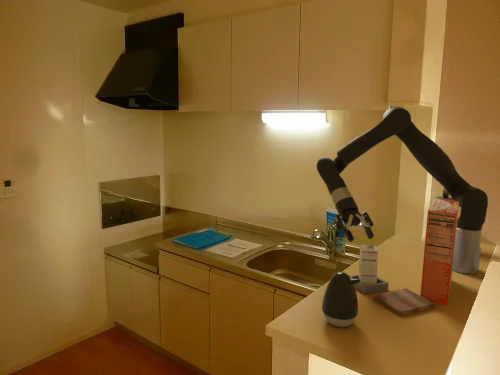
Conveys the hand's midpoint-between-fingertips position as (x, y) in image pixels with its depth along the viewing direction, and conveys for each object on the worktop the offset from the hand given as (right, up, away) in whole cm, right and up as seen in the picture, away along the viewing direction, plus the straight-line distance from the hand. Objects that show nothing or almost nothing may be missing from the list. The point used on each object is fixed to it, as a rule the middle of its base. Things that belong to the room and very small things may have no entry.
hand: (362, 239), depth 136 cm
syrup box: (+1, -17, -1) cm, 17 cm away
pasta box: (+25, -17, -3) cm, 31 cm away
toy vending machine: (+49, -9, +43) cm, 66 cm away
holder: (+1, -16, -1) cm, 16 cm away
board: (+9, -19, -14) cm, 25 cm away
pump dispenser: (-14, -21, -26) cm, 36 cm away
